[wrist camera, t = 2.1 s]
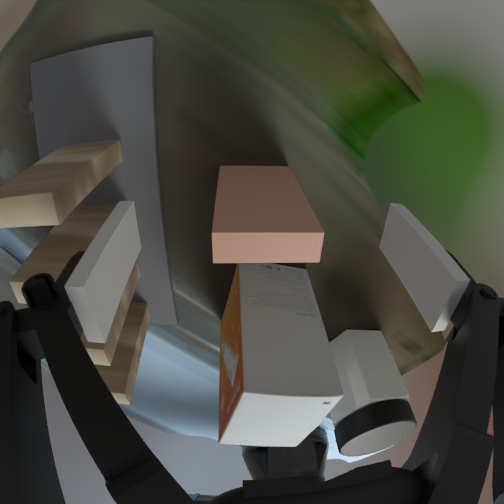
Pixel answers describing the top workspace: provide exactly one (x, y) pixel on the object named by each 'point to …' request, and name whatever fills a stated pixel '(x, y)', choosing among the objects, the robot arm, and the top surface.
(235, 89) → the top surface
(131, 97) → the mat
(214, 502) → the robot arm
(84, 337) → the domino
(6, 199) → the domino
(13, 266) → the skincare box
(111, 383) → the domino
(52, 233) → the domino
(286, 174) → the domino
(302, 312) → the small box
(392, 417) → the jar
